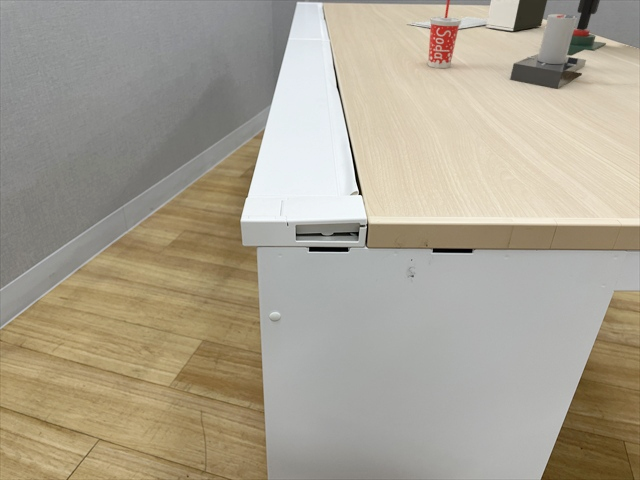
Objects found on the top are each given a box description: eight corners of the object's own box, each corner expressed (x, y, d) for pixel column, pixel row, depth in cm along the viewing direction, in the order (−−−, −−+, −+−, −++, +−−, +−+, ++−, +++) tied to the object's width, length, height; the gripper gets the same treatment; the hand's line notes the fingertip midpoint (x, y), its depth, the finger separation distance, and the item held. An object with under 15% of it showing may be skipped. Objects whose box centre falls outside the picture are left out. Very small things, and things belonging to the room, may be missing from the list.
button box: (603, 52, 118) (608, 34, 116) (590, 58, 111) (596, 40, 109) (560, 46, 123) (565, 29, 121) (546, 52, 117) (551, 34, 115)
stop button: (589, 37, 116) (591, 30, 115) (584, 39, 113) (587, 31, 112) (573, 35, 118) (576, 28, 117) (568, 37, 115) (571, 29, 114)
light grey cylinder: (542, 57, 97) (554, 11, 93) (568, 61, 94) (581, 14, 90) (533, 61, 94) (544, 14, 90) (559, 65, 91) (572, 17, 87)
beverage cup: (418, 65, 102) (428, -10, 94) (432, 60, 106) (442, -12, 98) (446, 70, 99) (458, -7, 91) (458, 65, 103) (471, -9, 95)
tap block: (536, 67, 103) (540, 51, 101) (582, 75, 98) (587, 59, 96) (509, 79, 94) (513, 62, 92) (557, 88, 89) (563, 70, 87)
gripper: (578, -94, 103) (548, 27, 116) (647, -94, 96) (607, 34, 108) (589, -92, 108) (559, 23, 120) (655, -93, 101) (616, 30, 113)
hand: (581, 28), depth 114 cm, fingers closed
